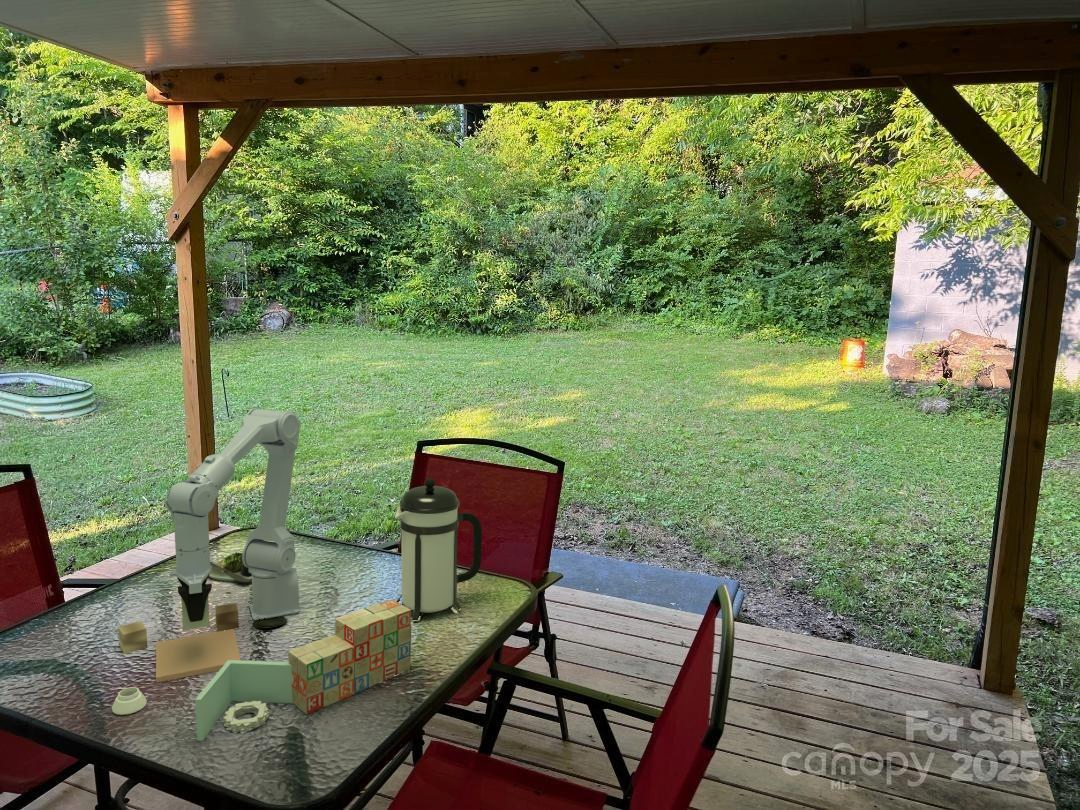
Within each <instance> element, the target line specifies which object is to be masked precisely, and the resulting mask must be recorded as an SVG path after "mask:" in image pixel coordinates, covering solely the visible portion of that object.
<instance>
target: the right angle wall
mask: <svg viewBox="0 0 1080 810" xmlns="http://www.w3.org/2000/svg"><path fill="white" fill-rule="evenodd" d="M291 670H292V669H291V665H290V664H289V663H288V661H271V660H270V661H267V660H241V659H240V660H228V661H227V662H226V663H225V664H224V666H223V667H222V668H221V669H220V670H219V671H217V672H216V674H215V675H214V676H213V677H212V679H211V680H210V681H209V682H208V683H207V685H206V686H205V687H204V688H203V689H202V691H201V692H200V693H199V694H198V695H197V697H195V701H194V704H195V723H196V725H195V727H196V729H195V730H196V741H197V742H203V741H204V740H205V738H206V737H207V736H208V735H209V734H210V731H211V730H212V729H213V728H214V726H215V725H216V723H218V721H219V720H220V718H221V717H222V716H223V714H224V715H225V716H223V727H226V729H225V730H226V731H231V732H232V733H233V734H236V733H239V732H240V734H241V735H242V734H244V733H247V732H250V731H252V730H253V729H256V728H260V726H263V725H266V721H267V720H268V719H269V718H268V717H269V714H270V711H269V708H268V706H267V703H271V704H273V703H275V704H276V703H278V704H294V703H293V701H292V684H293V683H292V682H293V674H292V672H291ZM232 702H238V703H235V704H234V705H235V706H231V707H230V705H231V704H232ZM228 707H229V708H228ZM227 709H228V710H227ZM248 713H249V714H251V713H253V714H254V715H255V716H253V717H251V718H244V719H237V718H239V717H240V716H243V715H245V714H248Z"/></svg>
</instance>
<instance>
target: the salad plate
mask: <svg viewBox="0 0 1080 810" xmlns="http://www.w3.org/2000/svg"><path fill="white" fill-rule="evenodd" d="M242 553H243V551H242V552H233V553H232V554H229V555H227V556H224V555H222V556H221V558H222V559H221V560H220V561H218V562H216V563H214V562H212V561H211V560H210V565H211V566H212V571H211V572H210V575H209V577H208V578H212V579H213V580H215V581H223V582H230V583H238V584H252V574H251V573H249V569H248V567H246V566H245V565H244V564H243V561H242Z"/></svg>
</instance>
